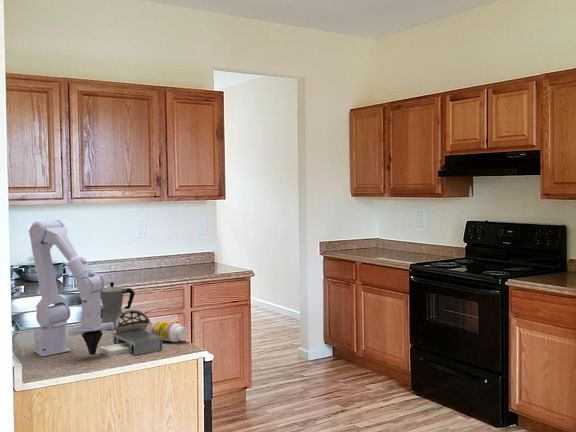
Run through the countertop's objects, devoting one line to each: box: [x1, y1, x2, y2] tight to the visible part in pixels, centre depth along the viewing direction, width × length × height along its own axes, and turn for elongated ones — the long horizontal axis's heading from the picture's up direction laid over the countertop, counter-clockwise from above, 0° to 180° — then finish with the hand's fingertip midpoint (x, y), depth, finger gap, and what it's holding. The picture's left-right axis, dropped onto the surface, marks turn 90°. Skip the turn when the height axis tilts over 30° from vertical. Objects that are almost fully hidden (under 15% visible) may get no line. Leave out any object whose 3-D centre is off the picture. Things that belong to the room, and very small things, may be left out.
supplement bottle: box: [150, 320, 189, 343], centre depth 205 cm, size 7×7×13 cm
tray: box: [99, 342, 130, 358], centre depth 193 cm, size 12×6×2 cm, turn 132°
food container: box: [115, 309, 151, 333], centre depth 207 cm, size 12×6×10 cm
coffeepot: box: [100, 281, 135, 331], centre depth 226 cm, size 15×9×18 cm, turn 90°
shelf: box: [112, 329, 163, 357], centre depth 197 cm, size 10×16×4 cm, turn 42°
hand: (92, 354), depth 186 cm, fingers closed
